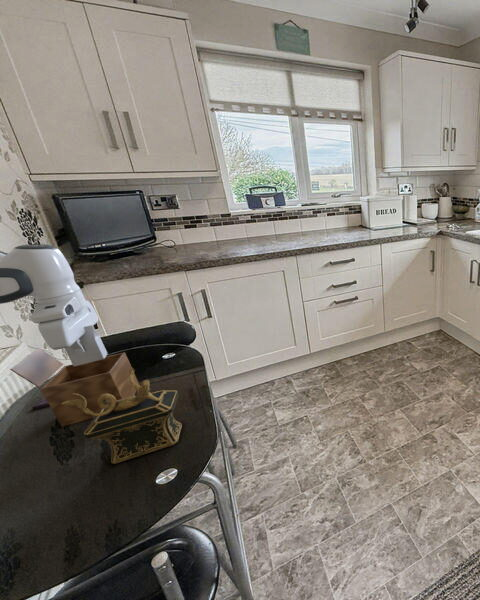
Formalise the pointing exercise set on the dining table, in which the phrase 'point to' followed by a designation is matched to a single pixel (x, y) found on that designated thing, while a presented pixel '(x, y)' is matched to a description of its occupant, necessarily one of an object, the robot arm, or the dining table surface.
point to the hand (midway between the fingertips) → (85, 349)
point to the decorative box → (134, 421)
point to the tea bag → (88, 348)
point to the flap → (37, 367)
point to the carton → (88, 386)
